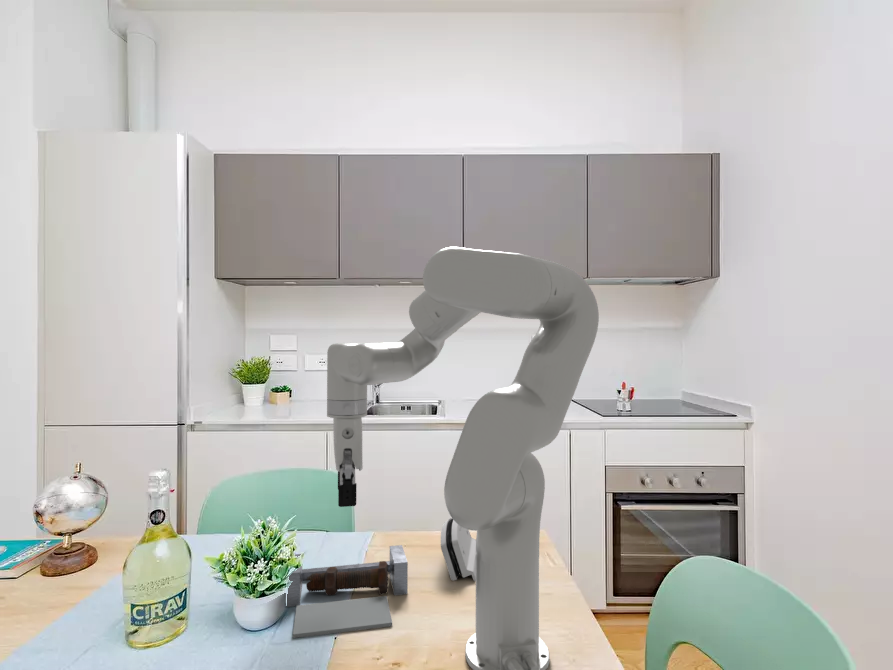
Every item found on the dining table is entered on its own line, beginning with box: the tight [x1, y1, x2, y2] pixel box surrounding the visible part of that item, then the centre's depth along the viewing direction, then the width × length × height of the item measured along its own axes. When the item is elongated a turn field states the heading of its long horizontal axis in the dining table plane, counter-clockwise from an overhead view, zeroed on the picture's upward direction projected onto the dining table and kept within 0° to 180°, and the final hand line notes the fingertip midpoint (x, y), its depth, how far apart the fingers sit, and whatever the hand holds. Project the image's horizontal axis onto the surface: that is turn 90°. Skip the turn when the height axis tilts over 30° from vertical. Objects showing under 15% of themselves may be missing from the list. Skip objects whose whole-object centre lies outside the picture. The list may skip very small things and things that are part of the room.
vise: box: [286, 544, 409, 608], centre depth 100 cm, size 11×22×6 cm, turn 102°
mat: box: [292, 595, 393, 639], centre depth 89 cm, size 9×16×1 cm, turn 103°
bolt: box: [305, 560, 389, 596], centre depth 98 cm, size 6×5×15 cm
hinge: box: [440, 517, 476, 582], centre depth 111 cm, size 17×5×10 cm, turn 174°
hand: (346, 497), depth 99 cm, fingers open, 9 cm apart
